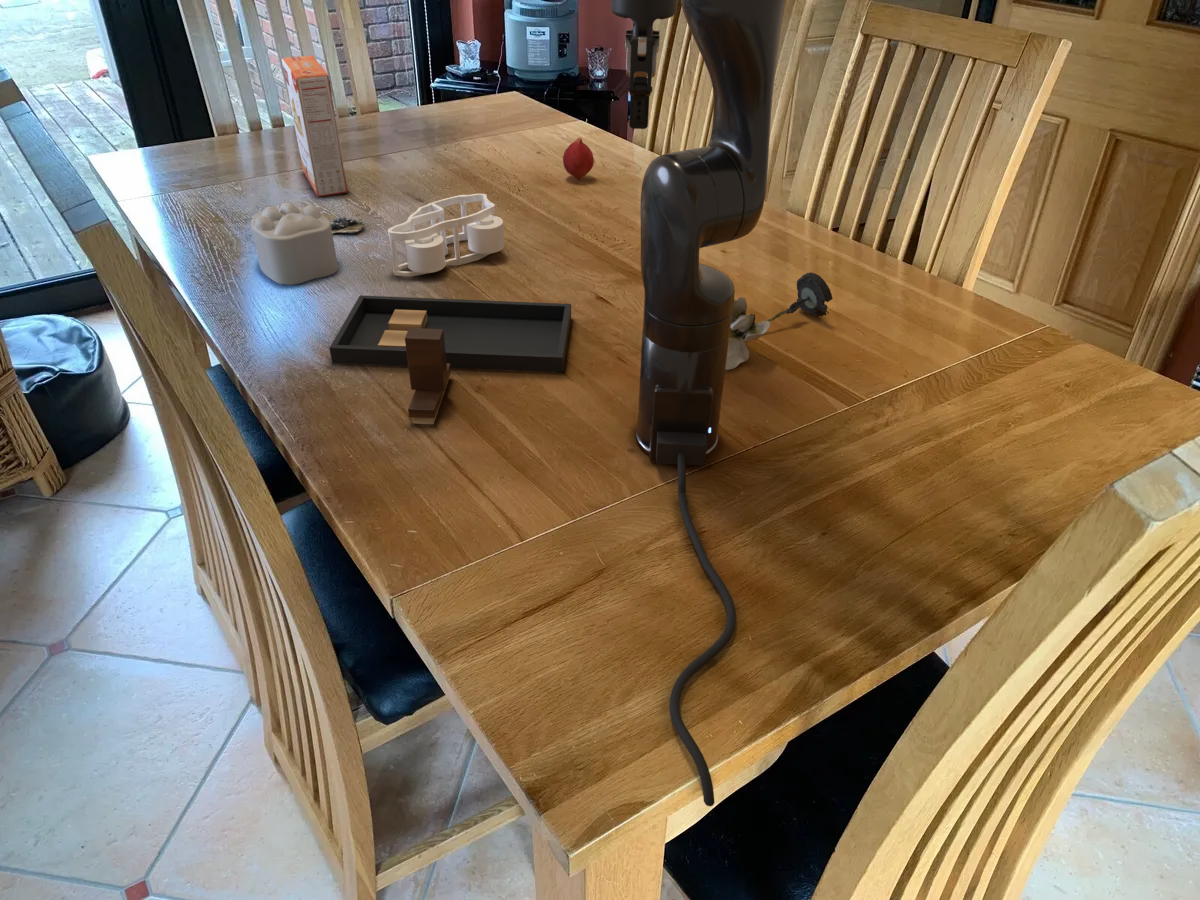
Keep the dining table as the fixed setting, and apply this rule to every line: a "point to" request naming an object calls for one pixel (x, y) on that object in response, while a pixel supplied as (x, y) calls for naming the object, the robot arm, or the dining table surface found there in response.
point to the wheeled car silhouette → (432, 247)
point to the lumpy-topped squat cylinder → (294, 243)
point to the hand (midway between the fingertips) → (638, 117)
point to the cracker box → (315, 124)
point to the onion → (578, 159)
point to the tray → (462, 333)
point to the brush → (426, 372)
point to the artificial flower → (744, 327)
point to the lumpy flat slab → (346, 225)
